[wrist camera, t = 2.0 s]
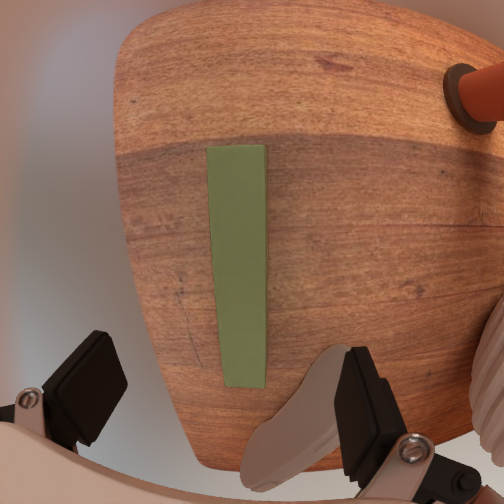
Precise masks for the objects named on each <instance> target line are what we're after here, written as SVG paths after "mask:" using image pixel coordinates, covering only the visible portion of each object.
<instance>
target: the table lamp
mask: <svg viewBox="0 0 504 504" xmlns="http://www.w3.org/2000/svg"><path fill="white" fill-rule="evenodd" d="M471 376H472V382H471V385H470V390H469V399H470V404H471V409H472V410H473V413H472V425H473V427H474V430H475V432H476V433H477V434H478V435H480V445H481V446H482V447H483V449H484V450H485V451H486V452H490V453H492V461H493V463H494V464H495V465H496V466H499V467H503V466H504V295H503V296H502V297H501V299H500V300H499V302H498V303H497V305H496V306H495V308H494V309H493V311H492V313H491V315H490V317H489V319H488V321H487V323H486V325H485V328H484V331H483V333H482V336H481V339H480V343H479V345H478V348H477V350H476V353H475V356H474V360H473V365H472V373H471Z"/></svg>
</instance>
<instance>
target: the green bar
mask: <svg viewBox="0 0 504 504" xmlns="http://www.w3.org/2000/svg"><path fill="white" fill-rule="evenodd" d="M206 153H207V182H208V203H209V222H210V238H211V253H212V266H213V279H214V291H215V302H216V313H217V323H218V333H219V342H220V351H221V360H222V369H223V377H224V385H225V386H226V387H240V388H260V389H265V388H266V376H267V360H268V295H269V223H268V150H267V148H266V146H265V145H264V144H262V145H230V146H213V147H207V148H206Z"/></svg>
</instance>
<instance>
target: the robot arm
mask: <svg viewBox="0 0 504 504" xmlns="http://www.w3.org/2000/svg"><path fill="white" fill-rule="evenodd" d="M127 385H128V383H127V380H126V377H125V375H124V372H123V369H122V367H121V364H120V361H119V358H118V356H117V353H116V350H115V347H114V344H113V341H112V338H111V337H110V336H109V334H108V333H107V332H103V331H98V330H94V331H93V332H92V333H91V334H90V335H89V336H88V337H87V338H86V339H85V340H84V341H83V342H82V343H81V344H80V345H79V346H78V347H77V349H76V350H75V351H74V352H73V353H72V354H71V355H70V356H69V357H68V358H67V359H66V360H65V361H64V362H63V364H62V365H61V366H60V367H59V368H58V369H57V370H56V371H55V372H54V373H53V374H52V376H51V377H50V378H49V379H48V380H47V381H46V382H45V384H44V385H43V386H42V389H43V390H44V393H43V394H42V393H41V391H40V390H38V389H37V388H27V389H24V390H23V391H21V392H20V393H19V394H18V396H17V397H16V401H15V404H12V405H8V406H4V407H0V504H504V498H503V497H502V496H501V495H499V494H498V493H497V492H496V491H494V490H493V489H492V488H490V487H489V486H488V485H486V486H482V485H481V483H482V482H481V476H480V473H479V472H478V471H477V470H476V469H474V468H472V467H470V466H467V465H464V464H461V463H459V462H456V461H454V460H451V459H448V458H446V457H444V456H441V455H439V454H436V453H434V452H435V447H434V443H433V441H432V440H431V439H430V438H429V437H428V436H427V435H425V434H423V433H419V432H410V433H408V432H407V429H406V426H405V423H404V421H403V418H402V415H401V413H400V410H399V408H398V405H397V402H396V400H395V397H394V395H393V392H392V390H391V388H390V385H389V383H388V381H387V379H385V378H380V377H379V375H378V372H377V370H376V367H375V365H374V362H373V360H372V358H371V355H370V353H369V350H368V348H367V347H366V346H361V347H351V349H350V351H346V353H345V356H344V361H343V365H342V370H341V374H340V378H339V382H338V386H337V390H336V394H335V397H334V410H335V416H336V422H337V428H338V434H339V441H340V447H341V454H342V461H343V469H344V474H345V476H349V478H350V482H354V481H358V485H359V487H360V488H361V489H360V491H359V492H358V493H357V494H356V496H355V497H354V498H348V499H336V500H319V501H296V502H280V501H279V502H278V501H277V502H276V501H252V500H240V499H239V500H238V499H230V498H222V497H214V496H208V495H202V494H196V493H191V492H186V491H182V490H177V489H173V488H168V487H165V486H161V485H157V484H154V483H150V482H147V481H144V480H140V479H137V478H134V477H131V476H128V475H125V474H122V473H120V472H117V471H114V470H112V469H109V468H107V467H104V466H102V465H100V464H97V463H95V462H93V461H90V460H88V459H86V458H84V457H82V456H80V455H78V451H77V447H76V442H77V441H79V442H80V443H82V444H84V445H86V446H88V447H90V445H91V443H92V442H94V441H96V439H97V438H98V436H99V434H100V432H101V431H102V429H103V427H104V426H105V424H106V422H107V420H108V419H109V417H110V416H111V414H112V412H113V411H114V409H115V407H116V406H117V404H118V402H119V401H120V399H121V397H122V396H123V394H124V392H125V391H126V389H127Z"/></svg>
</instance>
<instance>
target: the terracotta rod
mask: <svg viewBox="0 0 504 504" xmlns="http://www.w3.org/2000/svg"><path fill="white" fill-rule="evenodd" d="M443 87H444V94H445V98H446V101H447V104H448V106H449V108H450V110H451V112H452V114H453V116H454V117H455V119H456V120H457V121H458V123H459V124H460V125H461V126H462V127H463V128H465V129H466V130H467V131H469V132H471V133H473V134H478V135H482V134H488V133H490V132H491V131H492V130H493V129H494V128H495V126H496V124H497V121H504V62H502V63H499V64H496V65H492V66H489V67H486V68H483V69H480V70H477V69H475V68H474V67H472V66H470V65H468V64H464V63H459V64H456V65H454V66H451V67H450V68H449V69H448V70H447V71H446V73H445V76H444V81H443Z"/></svg>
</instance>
